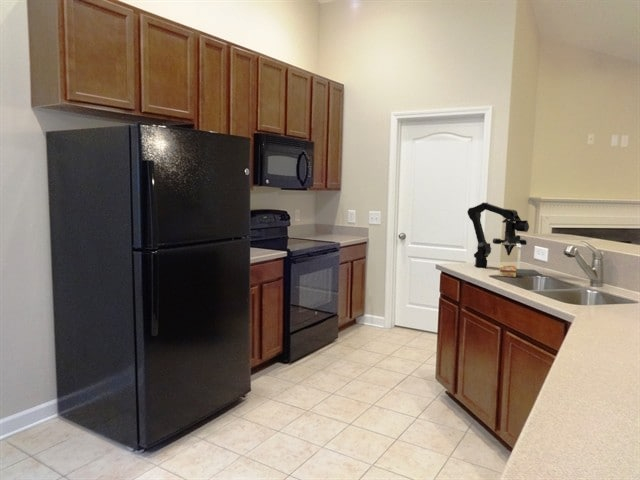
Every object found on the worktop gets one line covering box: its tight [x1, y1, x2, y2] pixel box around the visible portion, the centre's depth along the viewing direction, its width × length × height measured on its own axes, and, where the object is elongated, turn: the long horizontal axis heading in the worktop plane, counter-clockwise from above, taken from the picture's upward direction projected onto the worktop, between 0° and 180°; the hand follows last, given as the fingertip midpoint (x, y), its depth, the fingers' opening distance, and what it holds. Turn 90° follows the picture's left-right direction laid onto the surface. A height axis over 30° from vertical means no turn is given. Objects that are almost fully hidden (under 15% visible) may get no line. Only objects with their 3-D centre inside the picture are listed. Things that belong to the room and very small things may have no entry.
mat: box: [516, 268, 543, 276], centre depth 291 cm, size 16×15×1 cm
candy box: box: [499, 264, 517, 278], centre depth 283 cm, size 9×4×15 cm
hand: (508, 255), depth 291 cm, fingers closed
